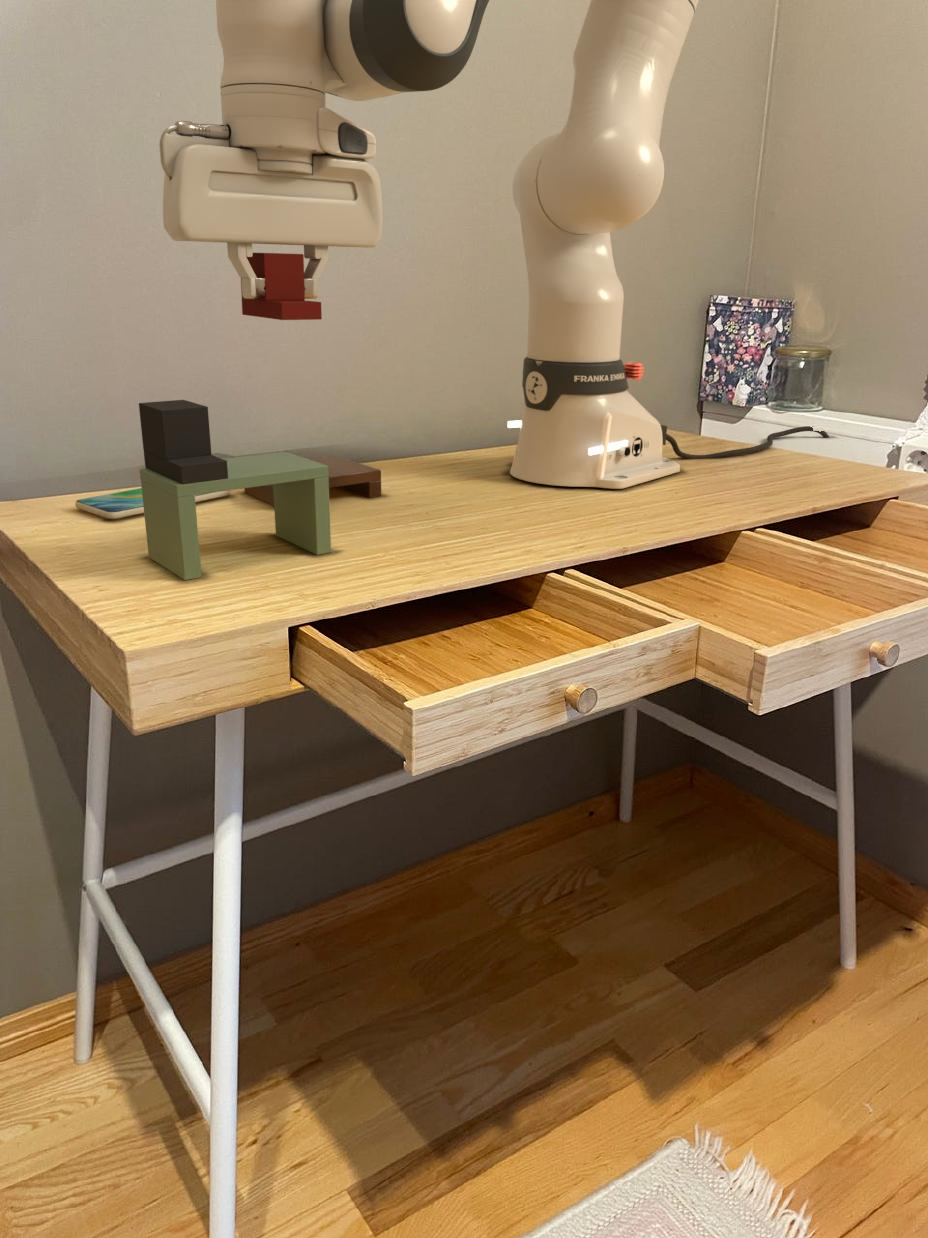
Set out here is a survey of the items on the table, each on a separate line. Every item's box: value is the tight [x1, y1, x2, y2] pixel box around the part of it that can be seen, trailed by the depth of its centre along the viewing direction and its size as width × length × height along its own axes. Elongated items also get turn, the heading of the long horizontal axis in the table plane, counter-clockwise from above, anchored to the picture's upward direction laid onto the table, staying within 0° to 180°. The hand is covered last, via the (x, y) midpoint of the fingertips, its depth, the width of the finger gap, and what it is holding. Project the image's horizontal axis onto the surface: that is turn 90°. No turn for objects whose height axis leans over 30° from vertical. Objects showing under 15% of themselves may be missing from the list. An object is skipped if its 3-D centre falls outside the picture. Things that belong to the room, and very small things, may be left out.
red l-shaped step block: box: [240, 252, 323, 321], centre depth 88 cm, size 4×8×6 cm, turn 37°
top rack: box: [139, 451, 332, 581], centre depth 86 cm, size 14×8×8 cm, turn 128°
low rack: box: [243, 455, 382, 506], centre depth 109 cm, size 12×10×3 cm
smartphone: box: [74, 487, 230, 520], centre depth 104 cm, size 7×1×15 cm
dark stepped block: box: [138, 399, 228, 484], centre depth 81 cm, size 4×8×6 cm, turn 38°
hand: (281, 298), depth 89 cm, fingers closed on red l-shaped step block, 4 cm apart
